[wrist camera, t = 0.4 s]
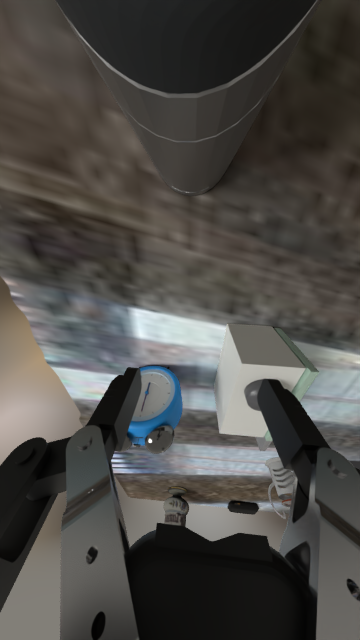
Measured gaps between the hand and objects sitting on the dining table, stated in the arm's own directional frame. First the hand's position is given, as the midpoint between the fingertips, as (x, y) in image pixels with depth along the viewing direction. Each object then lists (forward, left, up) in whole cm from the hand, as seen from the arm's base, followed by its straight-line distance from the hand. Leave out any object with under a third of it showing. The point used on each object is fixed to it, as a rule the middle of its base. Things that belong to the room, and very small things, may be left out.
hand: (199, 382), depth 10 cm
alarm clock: (+21, -8, -18) cm, 29 cm away
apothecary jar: (+105, -1, -18) cm, 107 cm away
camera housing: (+15, +10, -18) cm, 26 cm away
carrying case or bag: (+116, +34, -19) cm, 123 cm away
